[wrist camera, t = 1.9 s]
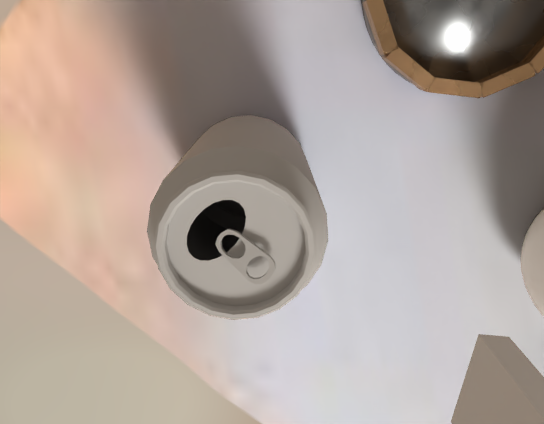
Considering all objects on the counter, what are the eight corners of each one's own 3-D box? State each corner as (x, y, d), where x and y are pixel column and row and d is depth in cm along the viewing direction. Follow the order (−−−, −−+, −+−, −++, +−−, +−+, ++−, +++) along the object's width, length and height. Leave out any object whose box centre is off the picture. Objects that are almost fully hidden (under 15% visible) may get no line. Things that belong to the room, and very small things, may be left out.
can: (238, 87, 26) (215, 110, 15) (332, 164, 28) (376, 239, 16) (166, 181, 28) (96, 266, 17) (257, 248, 30) (251, 367, 18)
